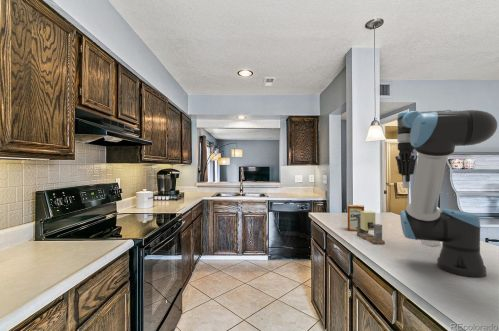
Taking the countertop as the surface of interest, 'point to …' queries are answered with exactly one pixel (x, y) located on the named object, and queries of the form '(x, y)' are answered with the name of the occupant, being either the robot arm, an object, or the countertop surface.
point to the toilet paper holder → (365, 235)
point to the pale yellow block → (367, 220)
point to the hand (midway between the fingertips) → (406, 188)
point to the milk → (431, 243)
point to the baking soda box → (354, 216)
